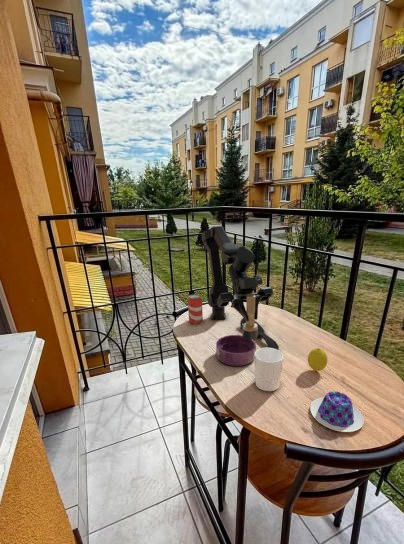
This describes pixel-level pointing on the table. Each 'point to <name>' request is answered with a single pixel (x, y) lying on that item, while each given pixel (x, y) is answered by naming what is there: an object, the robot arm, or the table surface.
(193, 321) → the beverage can
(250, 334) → the dish brush
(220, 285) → the robot arm
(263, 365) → the white cup
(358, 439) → the table surface
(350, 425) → the blue patterned hat
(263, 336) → the hairbrush
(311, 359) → the lemon
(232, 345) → the bowl
